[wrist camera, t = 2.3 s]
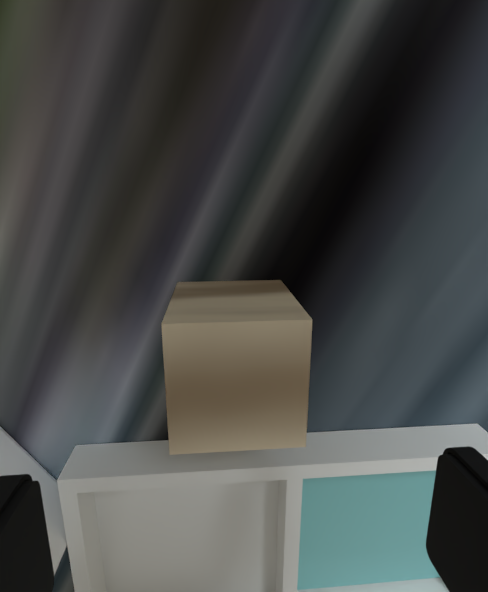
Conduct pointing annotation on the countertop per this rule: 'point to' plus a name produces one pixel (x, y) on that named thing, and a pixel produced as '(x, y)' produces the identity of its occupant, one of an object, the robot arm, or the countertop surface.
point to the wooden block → (236, 367)
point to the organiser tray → (258, 514)
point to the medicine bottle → (14, 461)
